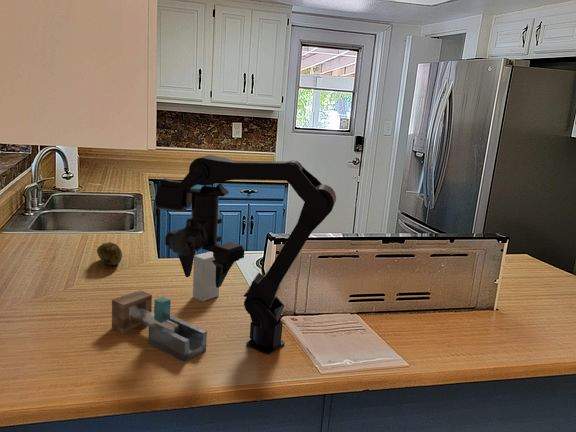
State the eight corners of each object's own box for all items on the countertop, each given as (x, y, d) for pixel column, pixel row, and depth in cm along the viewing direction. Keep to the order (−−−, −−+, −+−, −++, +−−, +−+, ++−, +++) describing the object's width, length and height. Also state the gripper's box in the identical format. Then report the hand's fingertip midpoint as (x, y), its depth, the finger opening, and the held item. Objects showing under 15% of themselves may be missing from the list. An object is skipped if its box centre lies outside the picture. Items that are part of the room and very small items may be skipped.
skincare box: (208, 291, 137) (210, 250, 134) (219, 296, 134) (221, 254, 131) (191, 297, 132) (193, 255, 129) (202, 302, 129) (203, 259, 127)
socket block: (151, 322, 116) (151, 294, 114) (123, 333, 109) (123, 304, 108) (140, 317, 118) (140, 290, 116) (111, 328, 112) (111, 299, 110)
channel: (206, 350, 105) (206, 331, 104) (184, 361, 100) (185, 341, 99) (170, 333, 111) (171, 315, 110) (148, 343, 106) (148, 324, 105)
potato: (129, 259, 157) (129, 235, 155) (118, 273, 144) (118, 247, 143) (102, 257, 156) (102, 233, 154) (89, 271, 144) (89, 245, 142)
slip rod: (179, 334, 107) (180, 303, 105) (169, 339, 105) (170, 307, 103) (134, 313, 115) (134, 284, 113) (124, 318, 113) (124, 287, 111)
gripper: (146, 212, 104) (146, 280, 108) (212, 229, 94) (209, 304, 98) (184, 204, 113) (182, 268, 117) (247, 219, 103) (244, 288, 107)
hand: (202, 281), depth 109 cm, fingers open, 9 cm apart
